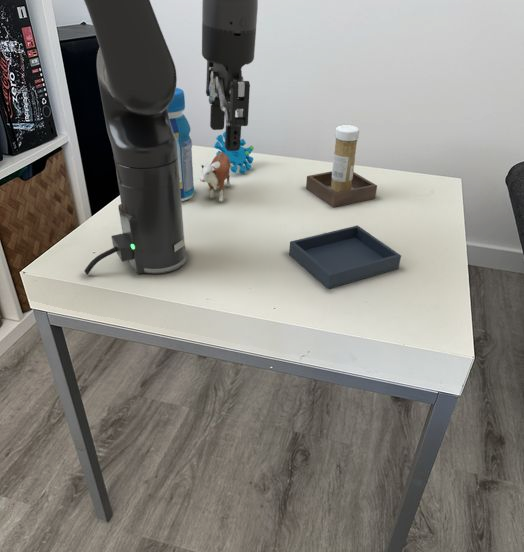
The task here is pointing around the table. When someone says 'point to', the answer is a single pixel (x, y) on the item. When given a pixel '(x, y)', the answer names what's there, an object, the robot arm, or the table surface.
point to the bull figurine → (217, 174)
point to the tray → (344, 256)
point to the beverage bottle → (182, 144)
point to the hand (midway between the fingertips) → (224, 139)
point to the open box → (335, 199)
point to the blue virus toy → (236, 154)
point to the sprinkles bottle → (344, 157)
